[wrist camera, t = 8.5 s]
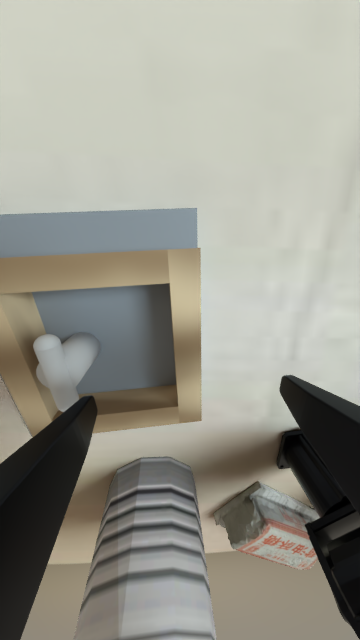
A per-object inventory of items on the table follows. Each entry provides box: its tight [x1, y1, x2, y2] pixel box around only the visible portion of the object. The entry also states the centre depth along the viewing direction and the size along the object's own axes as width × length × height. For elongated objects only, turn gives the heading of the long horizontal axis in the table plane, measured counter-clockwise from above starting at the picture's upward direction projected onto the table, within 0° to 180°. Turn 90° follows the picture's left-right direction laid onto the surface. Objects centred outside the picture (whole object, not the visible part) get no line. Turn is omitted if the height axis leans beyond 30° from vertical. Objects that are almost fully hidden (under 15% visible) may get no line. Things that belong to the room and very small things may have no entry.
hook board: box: [0, 208, 197, 436], centre depth 12 cm, size 18×16×6 cm
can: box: [73, 457, 216, 640], centre depth 17 cm, size 11×11×12 cm
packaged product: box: [214, 482, 320, 570], centre depth 26 cm, size 18×5×10 cm
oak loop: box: [0, 248, 201, 437], centre depth 12 cm, size 13×13×2 cm
